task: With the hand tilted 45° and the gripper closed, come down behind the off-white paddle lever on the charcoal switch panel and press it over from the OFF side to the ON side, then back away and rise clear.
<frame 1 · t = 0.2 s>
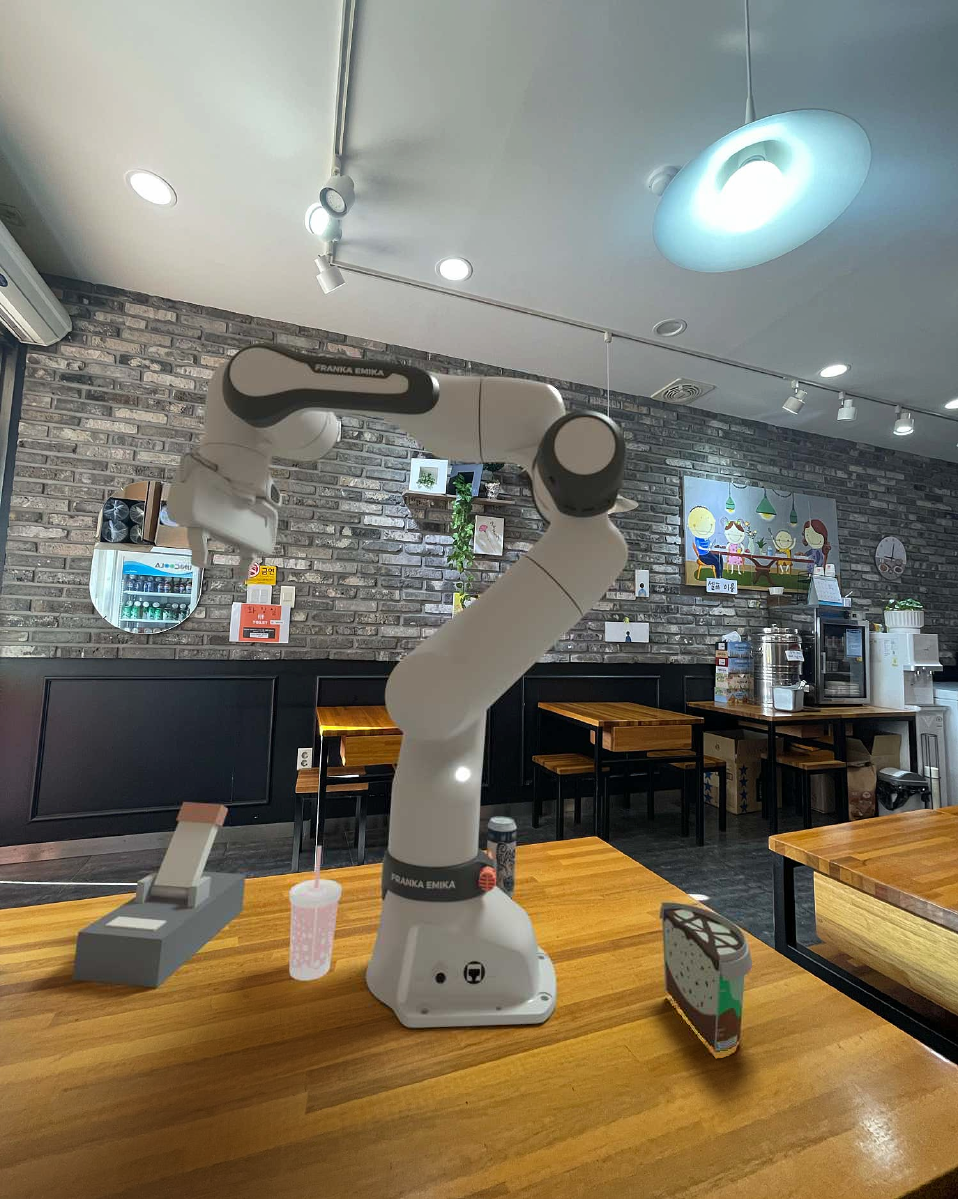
hand: (222, 574, 70), 48 cm above the table, tool pointing down, fingers open, 8 cm apart
switch panel: (167, 941, 66), on the table
beer can: (499, 899, 83), on the table
beverage cup: (309, 970, 62), on the table
lever: (189, 849, 70), point 10 cm above the table, hinge at 30.0°
food container: (714, 1026, 55), on the table
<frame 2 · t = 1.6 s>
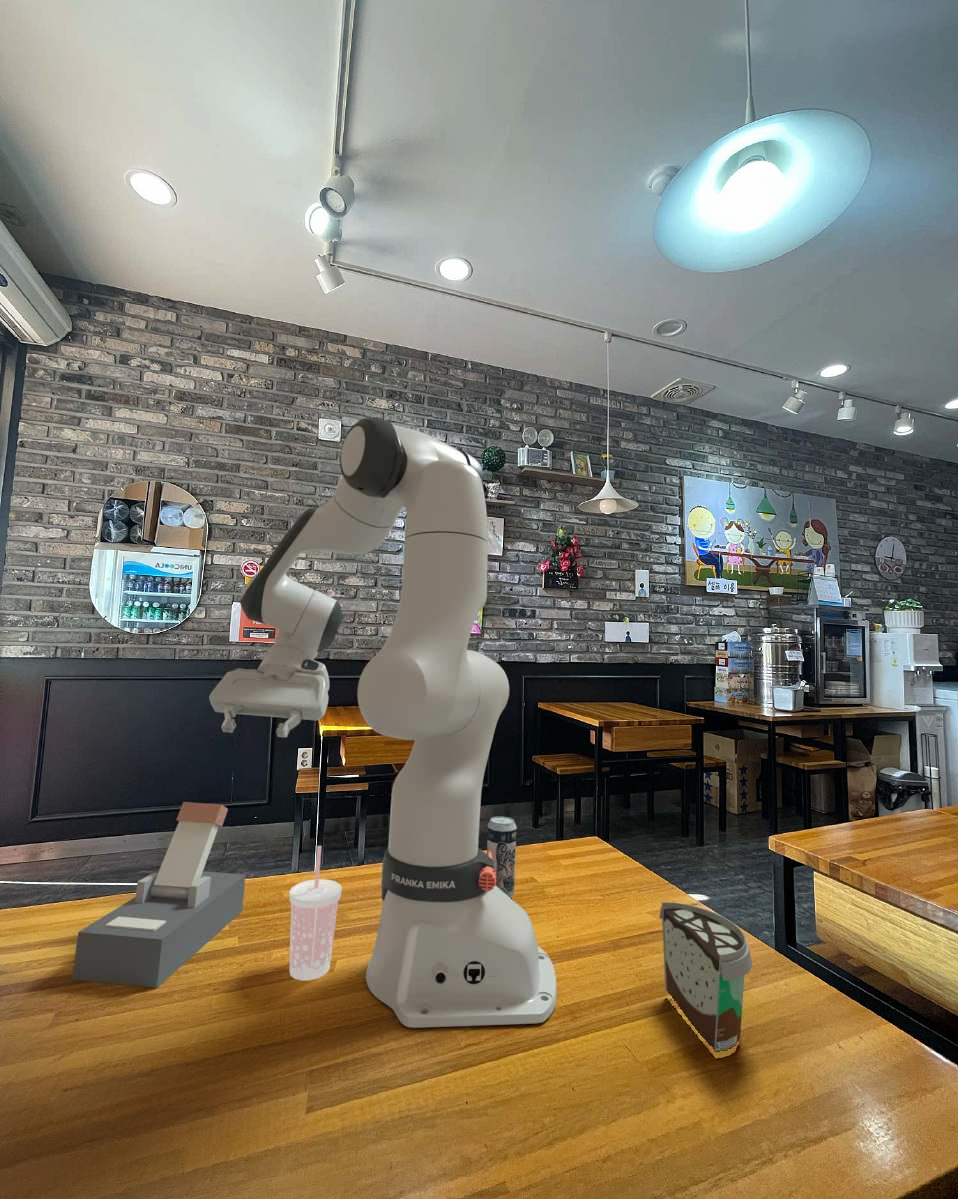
hand: (253, 732, 88), 24 cm above the table, tool tilted 45°, fingers open, 8 cm apart
nothing on the table moved.
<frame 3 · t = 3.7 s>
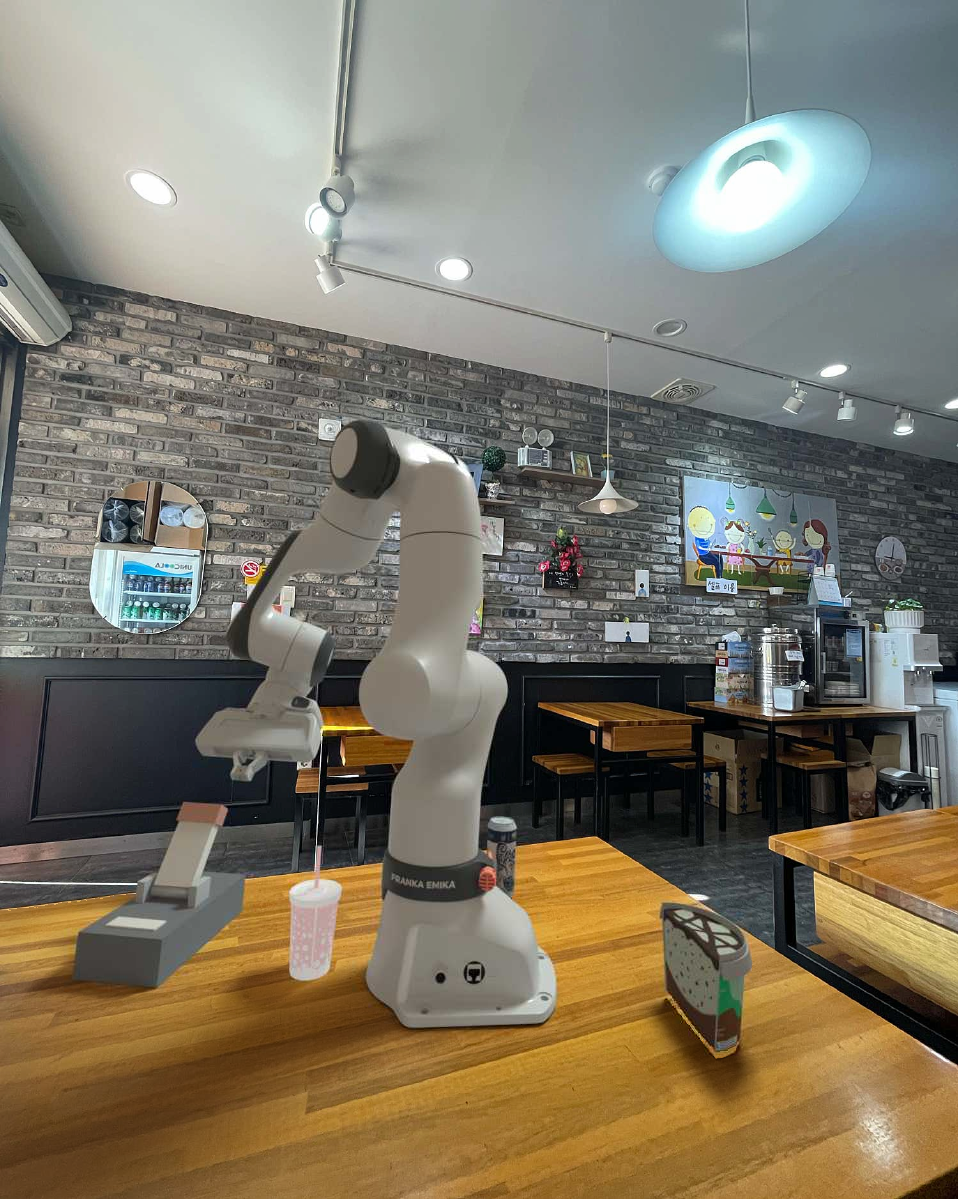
hand: (239, 778, 82), 17 cm above the table, tool tilted 45°, fingers closed
nothing on the table moved.
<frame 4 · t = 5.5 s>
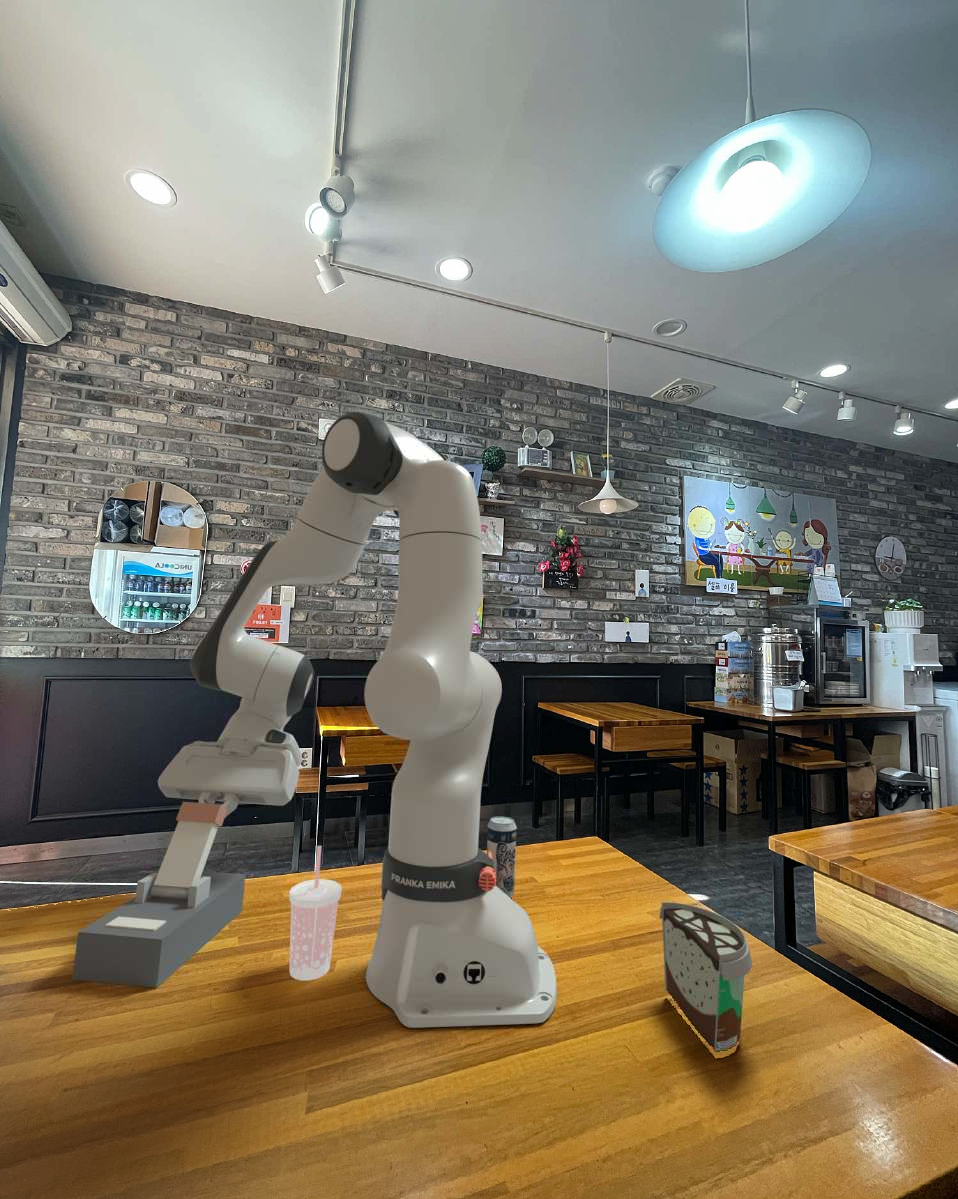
hand: (205, 826, 74), 12 cm above the table, tool tilted 45°, fingers closed, pressing on lever
lever: (189, 849, 70), point 10 cm above the table, hinge at 29.2°, touching gripper
everything else where it was.
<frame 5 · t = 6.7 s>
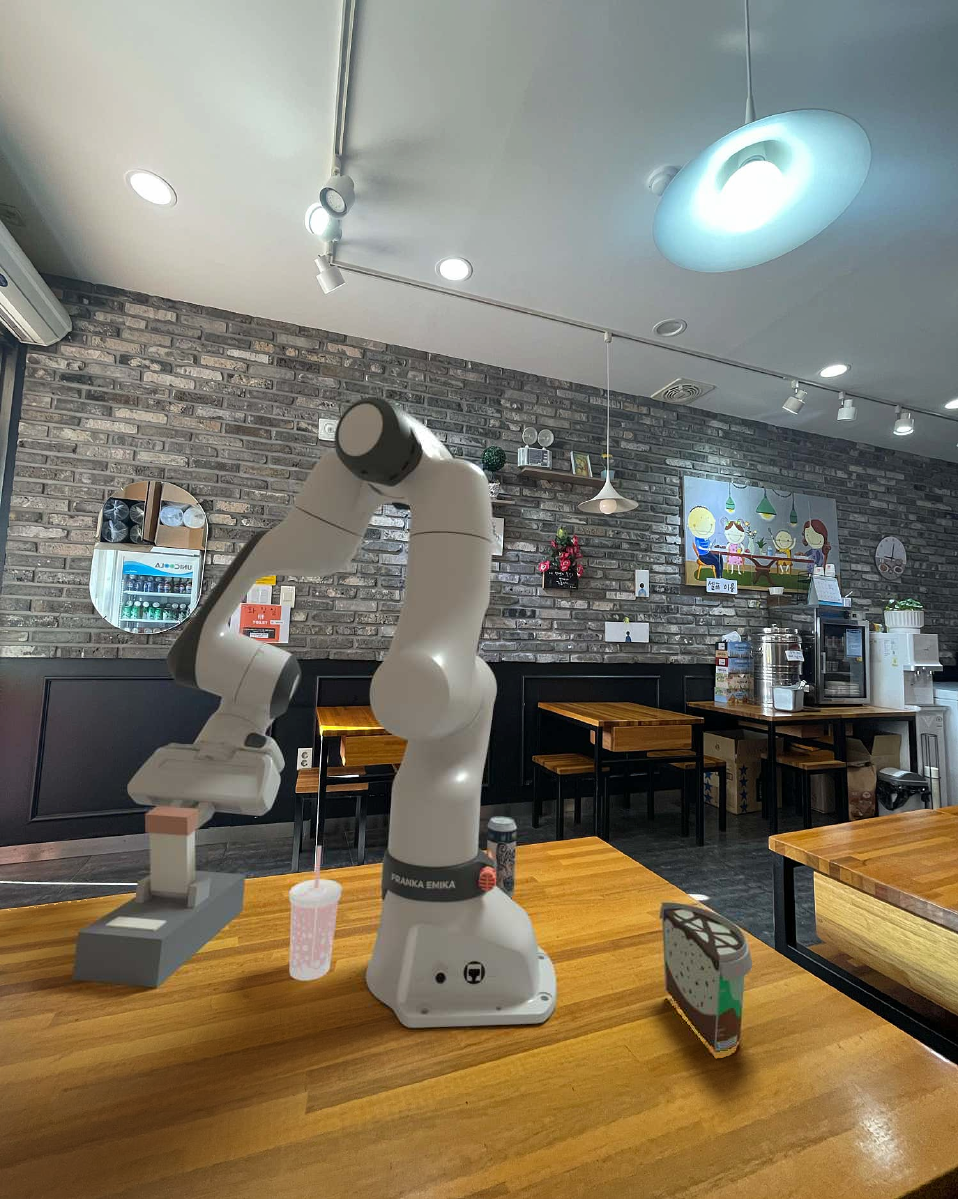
hand: (175, 837, 68), 13 cm above the table, tool tilted 45°, fingers closed, pressing on lever
lever: (172, 854, 67), point 11 cm above the table, hinge at -11.8°, touching gripper
everything else where it was.
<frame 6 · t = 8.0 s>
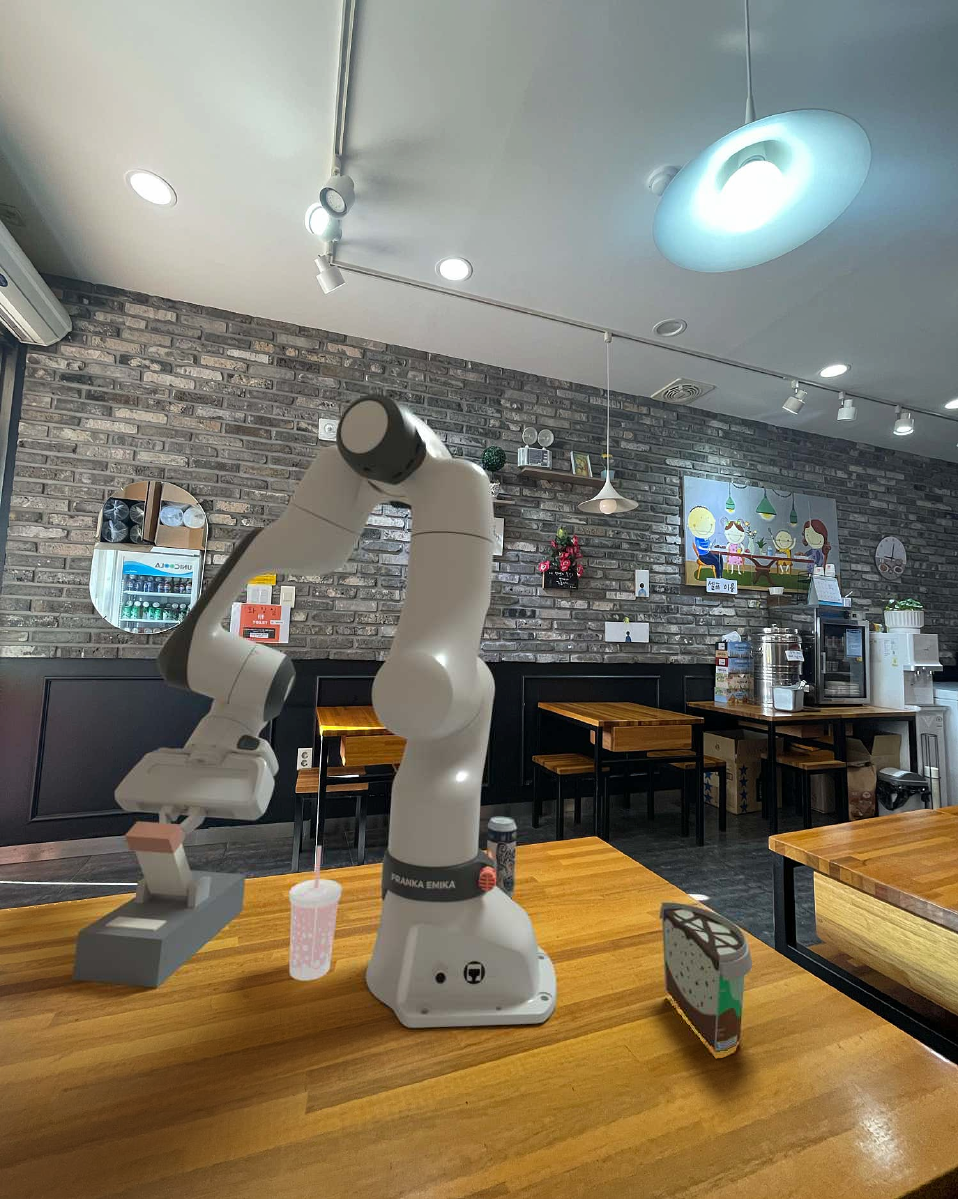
hand: (165, 844, 65), 13 cm above the table, tool tilted 45°, fingers closed
lever: (164, 863, 65), point 10 cm above the table, hinge at -30.5°
everything else where it was.
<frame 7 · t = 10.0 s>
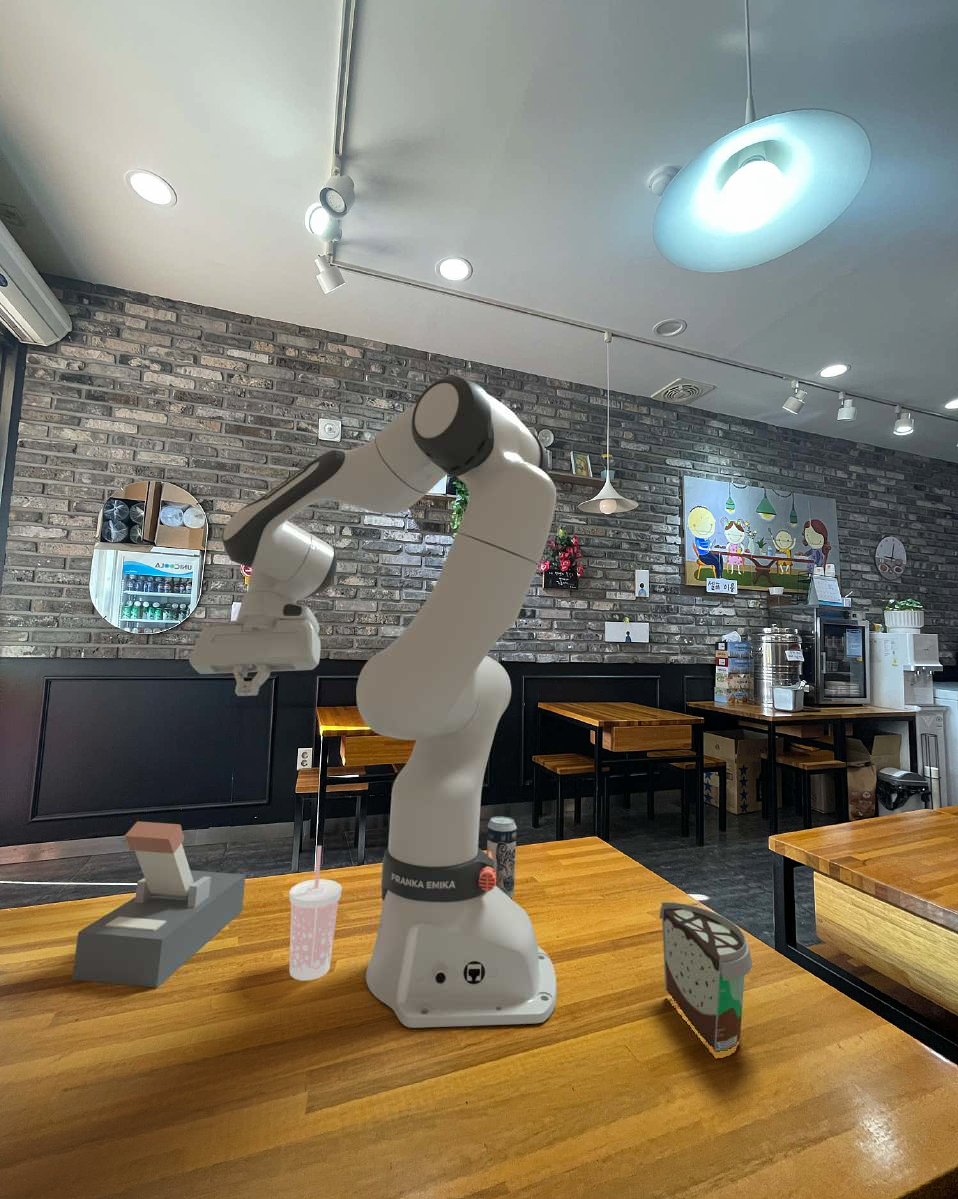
hand: (245, 694, 81), 31 cm above the table, tool tilted 30°, fingers closed
nothing on the table moved.
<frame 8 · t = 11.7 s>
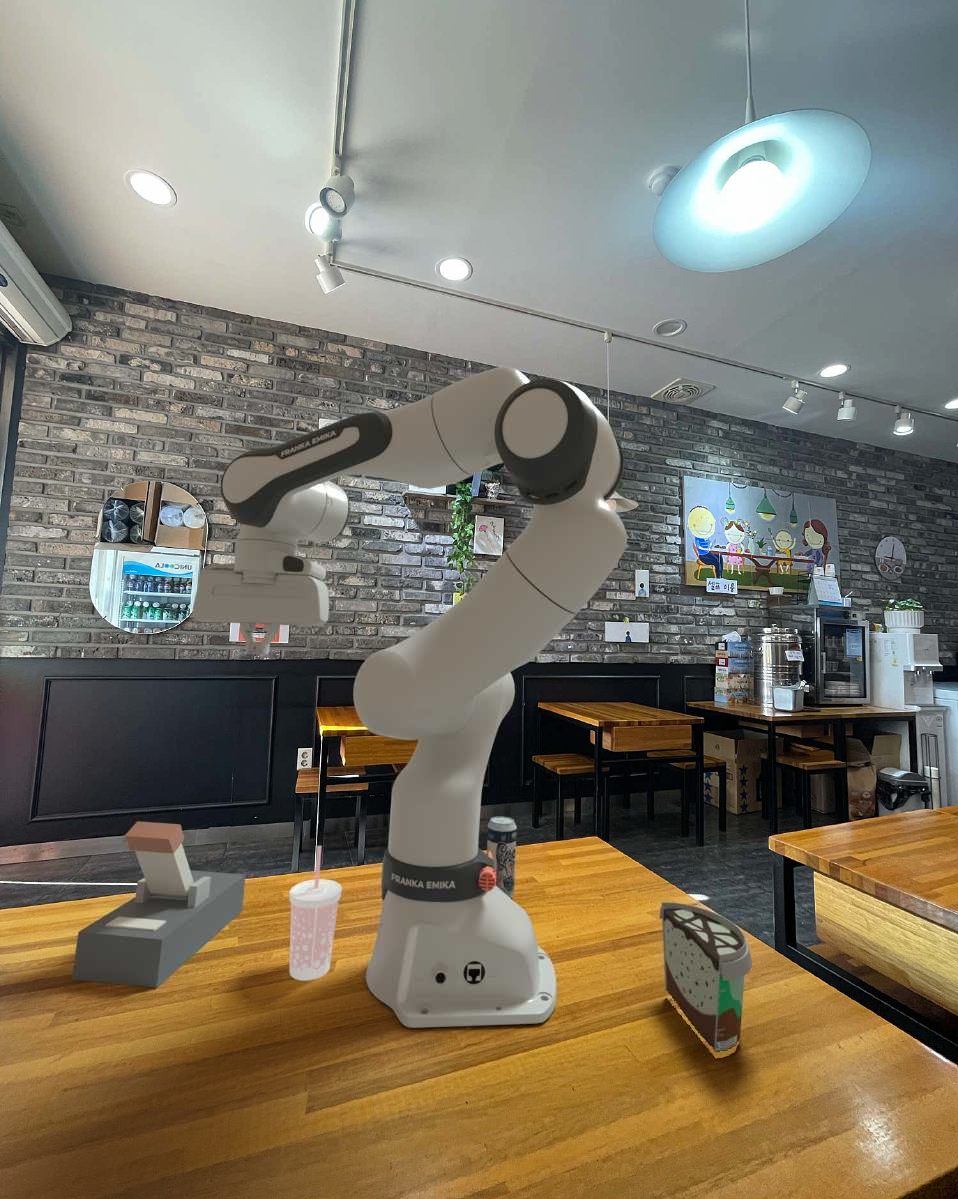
hand: (257, 654, 79), 37 cm above the table, tool pointing down, fingers closed
nothing on the table moved.
at the end: lever at -30° (first picture: +30°); beer can tilted 0° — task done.
